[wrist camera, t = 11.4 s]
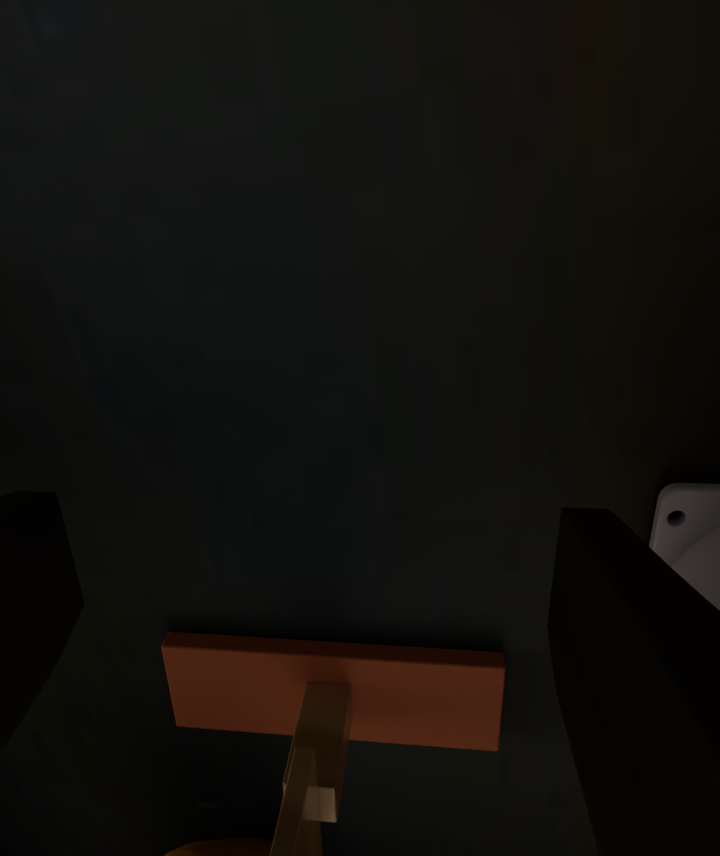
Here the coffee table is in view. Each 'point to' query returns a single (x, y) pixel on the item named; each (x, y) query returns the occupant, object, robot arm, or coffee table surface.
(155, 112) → the coffee table surface
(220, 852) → the apple
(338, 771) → the brown slab
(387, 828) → the coffee table surface
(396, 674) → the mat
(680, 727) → the robot arm
